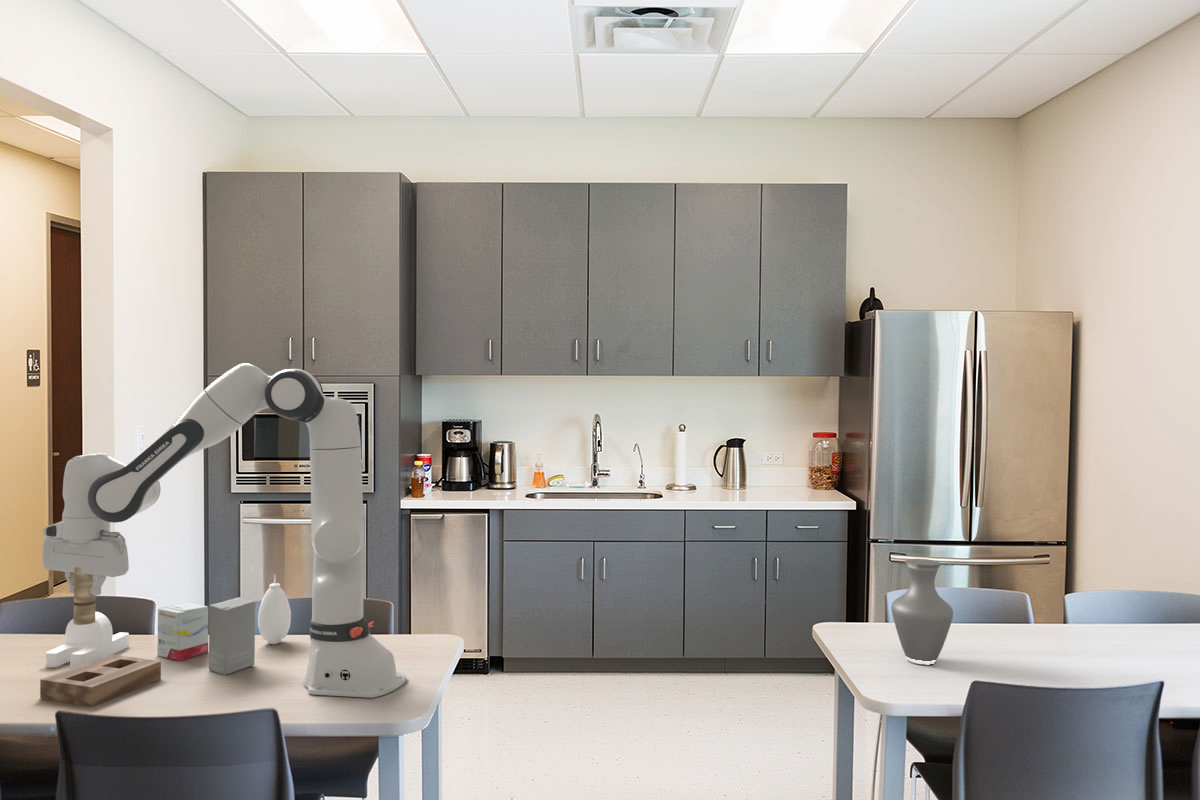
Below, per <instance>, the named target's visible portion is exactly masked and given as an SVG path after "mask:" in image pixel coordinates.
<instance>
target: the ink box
mask: <svg viewBox="0 0 1200 800" xmlns="http://www.w3.org/2000/svg"><path fill="white" fill-rule="evenodd" d="M156 645H157V650H156V651H157V652H156V654H157V655H156V656H158V657H163V658H166V659H169V660H174V661H178V662H179V661H180V662H181V661H185V660H188V659H191V658H194V657H197V656H201V655H203V654H209V605H202V604H197V603H193V602H188V601H187V602H185V603H179V604H178V603H177V604H174V605H169V606H166V607H165V606H164V607H160V608H158V609H157V644H156Z"/></svg>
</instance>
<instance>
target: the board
mask: <svg viewBox="0 0 1200 800" xmlns="http://www.w3.org/2000/svg"><path fill="white" fill-rule="evenodd" d="M39 679H40V678H39ZM161 679H162V660H156V659H148V658H141V657H140V658H139V657H132V656H126V655H119V654H113V655H110V656H107V657H104V658H101V659H98V660H95V661H92V662H89V663H87V664H84V665H81V666H78V667H75V668H70V669H68V670H67V669H66V670H64V671H61V672H58V673H55V674H52V675H49V676H46V677H43V678H41V679H40V680H39V681H40V682H39V684H40V685H39V692H40V693H39V695H40V696H39V699H41V700H49V701H54V702H60V703H67V704H73V705H79V706H87V707H94V706H97V705H100V704H102V703H103V702H106V701H109V700H112V699H113V698H116V697H118V696H122V695H124V694H126V693H129V692H131V691H134V690H136V689H139V688H141V687H144V686H146V685H149V684H151V683H154V682H156V681H157V682H158V681H159V680H161Z"/></svg>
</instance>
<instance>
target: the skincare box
mask: <svg viewBox="0 0 1200 800" xmlns="http://www.w3.org/2000/svg"><path fill="white" fill-rule="evenodd" d="M208 607H209V611H208V669H209V671H211V672H215V673H218V674H219V675H223V676H226V675H230V674H232V673H236V672H238V671H241V670H243V669H247V668H249V667H253V666H254V665H255V657H256V655H255V650H256V649H255V648H256V647H255V645H256V642H255V641H256V638H255V636H256V601H254V600H252V599H247V598H245V597H239V596H238V597H235V598H231V599H227V600H224V601H221V602H217V603H212V604H209V605H208Z"/></svg>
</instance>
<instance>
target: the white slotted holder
mask: <svg viewBox="0 0 1200 800" xmlns="http://www.w3.org/2000/svg"><path fill="white" fill-rule="evenodd" d="M129 634H130V633H129V632H121V631H120V632H118V633H115V634H113V626H112V623H111V620H110V619H109V618H108V616H106V615H105V614H103V613H102V612H99V611H96V610H95V622H94V623H91V624H86V625H75V624H73V618H72V619H71V620H70V621H69V622H68V623H67V625H66V628H65V635H64V644H62V645H59V646H57V647H55V648H53V649H50V650H48V651H46V652H45V667H46V666H47V667H46V668H48V667H56V668H58V667H60V666H59V665H61V666H63V665H64V664H63V663H65V662H67V663H69V665H70V667H69V668H70V669H72V668H75V667H78V666H81V665H84V664H87V663H89V662H92V661H95V660H98V659H101V658H104V657H107V656H110V655H116V653H119V652H121V651H123V650H125V649H127V648H129V645H130V644H129V643H130V642H129V641H130V637H129ZM68 661H70V662H68ZM62 664H63V665H62ZM65 664H66V663H65ZM57 666H58V667H57Z"/></svg>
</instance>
